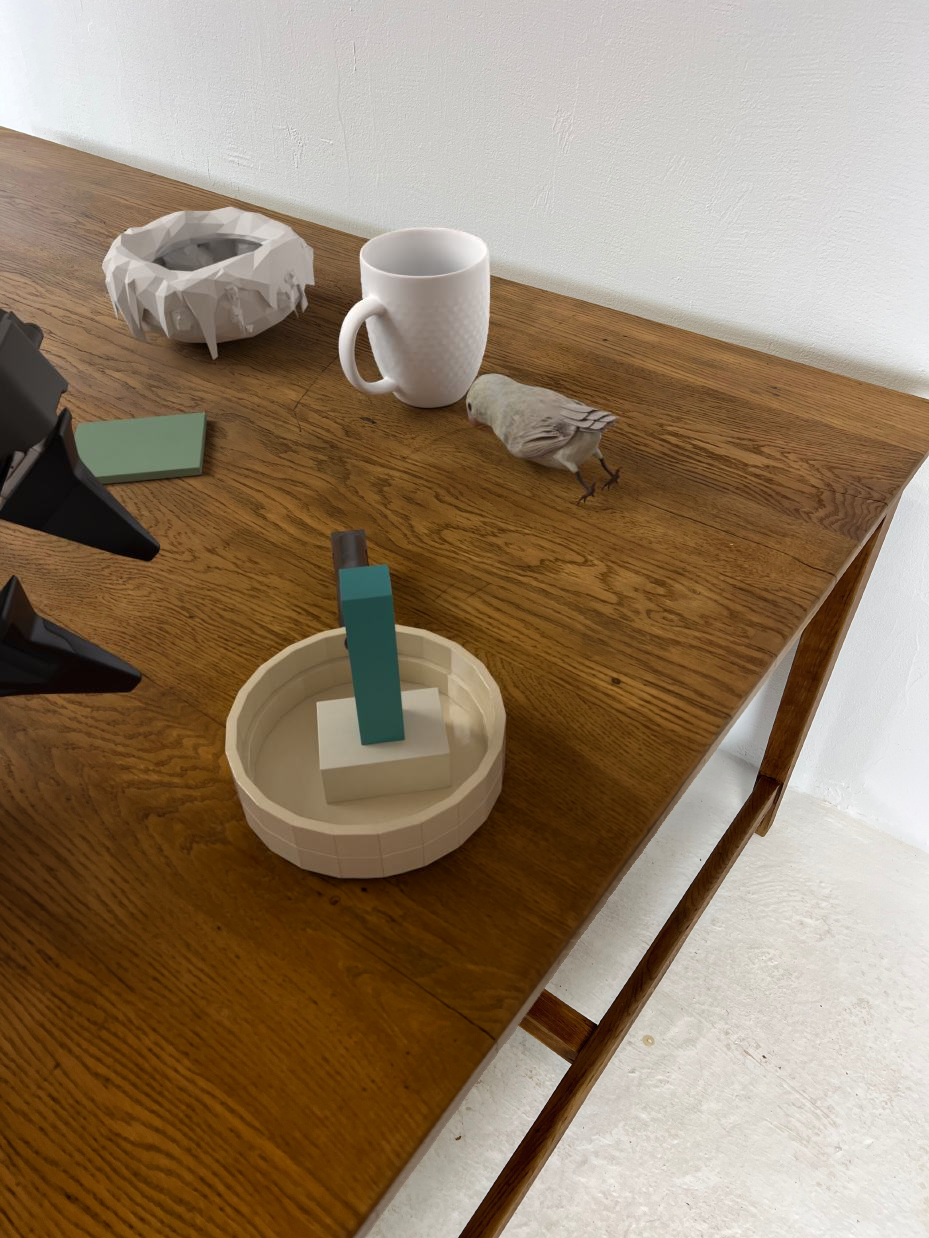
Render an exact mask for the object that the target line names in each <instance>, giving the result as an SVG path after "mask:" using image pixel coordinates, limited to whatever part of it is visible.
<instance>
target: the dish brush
mask: <svg viewBox="0 0 929 1238" xmlns="http://www.w3.org/2000/svg"><path fill="white" fill-rule="evenodd" d="M390 576H391V575H390V568H389V564H387V563H385V564H375V565H369V566H366V567H356V568H347V569H339V577H340V588H341V599H342V607H343V615H344V622H345V629H346V637H347V644H348V651H349V658H350V666H351V673H352V680H353V688H354V695H355V697H353V698H345V699H337V700H329V701H321V702H317V720H318V739H319V759H320V772H321V777H322V783H323V788H324V793H325V799H326V803H327V804H328V803H335V802H343V801H350V800H358V799H365V798H373V797H380V796H388V795H395V794H403V793H410V792H418V791H425V790H433V789H440V788H448V787H451V765H450V750H449V745H448V739H447V734H446V728H445V723H444V717H443V712H442V707H441V701H440V696H439V690H438V687H435V688H427V689H419V690H411V691H402V692H401V687H400V675H399V664H398V652H397V641H396V630H395V624H396V619H395V618H396V617H395V608H394V596H393V591H392V590H393V589H392V583H391V577H390Z"/></svg>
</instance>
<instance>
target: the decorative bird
mask: <svg viewBox="0 0 929 1238" xmlns="http://www.w3.org/2000/svg"><path fill="white" fill-rule="evenodd" d="M466 394H467V395H466V399H465V407H466V411H467V418H468V421H469V422H470V424H471V426H472V427H473V428H475V429H476V428H480V427H483V426H488V427H490V428H492V430H493V433H494V435H496V436H497V438H498V439H499V440H500V441H501V442H502V443H503V445H504V446H505V447H506V449H507V451H509V453H510V454H511V455H512V456H513V457H514V458H515V459H518V460H529V461H531V462H534V463H535V464H538V465H542V466H545V467H548V468H554V469H558V470H560V471H564V472H565V471H566V472H569V471H570V472H572V473H573V474H574V475H575V477H576V479H577V481H578V482H579V484H580V485H581V486H582V487H583V488H584V489H585V490H586V492H585V493H583V494H582V495H581V496H580V497H579V499H578V501H577V504H576V507H578V506H579V504H580V502H581V501H583V504H584V505H586V502H587V499H588V498H589V497H592V498H595V492H596V488H595V486H596V483H597V482H599V480H595V481H593V482H592V483H591V485H590V487H589V485H588V484H586V482H585V481H584V480H583V478H582V476H581V473H580V471H579V468H578V467H580V466H582V465H584V463H586V462H587V461H588V460H589V459H590V457H592V456H593V457H595V458H596V459H597V460H598V461H599V463H600V466H601V467H602V468H603V470H604V471H605V472H606V473H607V475H608V476H610V479H609V480H607V481H606V482H605V483H604V484H603V486H602V488H601V492H600V493H603V491H604V489H605V487H607V490H608V492H610V487H611V485H613V484H617V485H619V481H618V480H619V479H620V477H621V475H620V470H621V469H623V468H624V466H620V467H619V468H617V469H616V470H615V472H614V473H613V472H612V471H611V470H610V469H609V467H608V466H607V464H606V461H605V459H604V456H603V454H602V453H601V451H600V449H599V446H600V443H601V439H602V436H603V434H602V433H605V432H608V429H607V427H617V426H618V425H617V424H616V423H615V421H614V420H617V419H621V416H615V415H612V412H608V411H603V410H601V408H596V407H591V406H588V405H586V404H585V403H583V402H581V401H580V400H576V399H573V398H569V397H567V396H565V395H563V394H561V393H558V392H556V391H554V390H551V389H548V388H544V387H541V386H532V385H528V384H524V383H519V382H517V381H516V380H514V379H512V378H510V377H509V376H506V375H504V374H500V373H486V374H482V375H480V376H479V377H477V378H475V379H474V381H473V383H472V385H471V386H470V388H469V389H468V391H467V393H466ZM605 427H606V428H605Z"/></svg>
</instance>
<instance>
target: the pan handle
mask: <svg viewBox="0 0 929 1238" xmlns="http://www.w3.org/2000/svg"><path fill="white" fill-rule="evenodd" d="M330 543H331V544H330V546H331V547H330V548H331V556H332V563H333V570H334V578H335V579H334V580H335V590H336V602H337V614H338V628H342V627H345V622H344V615H343V607H342V599H341V588H340V577H339V569H347V568H356V567H366V566H370V563H369V554H368V545H367V537H366V530H365V529H364V528H362V529H361V528H359V529H351V530H341V531H332V532H330ZM344 645H345V647H346V649H347V650H348V644H347V637H346V639H345V642H344Z"/></svg>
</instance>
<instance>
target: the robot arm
mask: <svg viewBox="0 0 929 1238" xmlns="http://www.w3.org/2000/svg"><path fill="white" fill-rule="evenodd" d="M44 335H45V333H44V331H43V329H42V328H41V326H40V325H38V324H36V323H33V322H28V321H27V322H25V321H23V320H21V319H20V317H18V316H17V314H16V313H15V312H14V311H13V310H10V311H7V310H5V309H3V308H1V307H0V498H1V499H0V520H2V521H5V522H7V523H12V524H14V525H17V526H21V527H24V528H28V529H31V530H34V531H37V532H41V533H44V534H48V535H51V536H54V537H56V538H57V537H58V538H60V539H63V540H67V541H70V542H74V543H77V544H80V545H84V546H86V547H89V548H94V549H96V550H100V551H103V552H106V553H110V554H113V555H116V556H120V557H123V558H124V557H125V558H129V559H133V560H137V561H142V562H145V563H148V562H151V561H153V560H154V559H155V558H156V556H157V555H159V553H160V551H161V544H160V542H159V541H158V540H157V539H156V538H155V537H154V536H153V535H152V534H151V533H150V532H149V531H148V530H147V529H146V528H145V526H143V525H142V524H141V522H139V520H138V519H136V517H134V515H133V514H131V512H130V511H129V510H128V509H126V507H125V506H124V505H123V504H122V503H121V502H120V501H119V500H118V499H117V498H116V496H114V495H113V494H112V492H110V491H109V490H108V489H107V488H106V486H104V484H101V482H100V481H99V480H98V479H97V478H96V477H95V476H94V474H93V473H92V472H91V471H90V470H89V469H88V467H87V466H86V465H85V464H84V463H83V461H82V460H81V458H80V456H79V454H78V450H77V446H76V442H75V438H74V436H75V433H74V431H73V425H72V424H73V423H72V422H73V415H72V412H71V410H70V409H69V408H68V406H64V408H63V409H61V411H60V413H57V411H58V407H59V405H60V402H61V398H62V395H64V394H65V393H67V392H68V389H69V382H68V380H66V378H65V377H64V376H63V375H62V374H61V372H59V370H58V369H57V368H55V366H54V365H53V364H52V362H50V360H49V359H48V358H47V357H46V356H45V355H44V354H43V353H42V351H41V350H40V348H41V346H42V344H43V341H44V338H45V336H44ZM22 585H23V584H22V583H21V581H20V579H19V578H18V576H16V575H15V574H12V576H11V577H10V578H9V579H8V580H7V581H6V583H5V584H4V585H3V587H2V588H1V589H0V698H7V697H17V696H39V695H40V696H41V695H78V694H79V695H81V694H82V695H83V694H85V695H87V694H88V695H89V694H127V693H131V692H133V691H134V690H135V689H136V688H137V687H138V685H140V683H142V680H143V673H142V671H140V670H139V669H138V668H135V667H134V666H133V665H132V664H130V663H128V662H127V661H125V660H123V659H122V658H121V657H119V656H118V655H116V654H114V653H112V652H110V651H108V650H106V649H104V648H103V647H100V646H98V645H97V644H94V643H93V642H91V641H89V640H87V639H85V638H83V637H81V636H79V635H77V633H76V634H75V633H74V632H72V631H70V630H68V629H66V628H64V627H62V626H61V625H58V624H56V623H55V622H52V621H51V620H49V619H47V618H45V617H42V616H41V615H39V614H38V613H37V612H36V611H35V609H34V607H33V605H32V603H31V601H30V599H29V597H28V595H27V593H26V592H25V590H24V587H23V586H22Z"/></svg>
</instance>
